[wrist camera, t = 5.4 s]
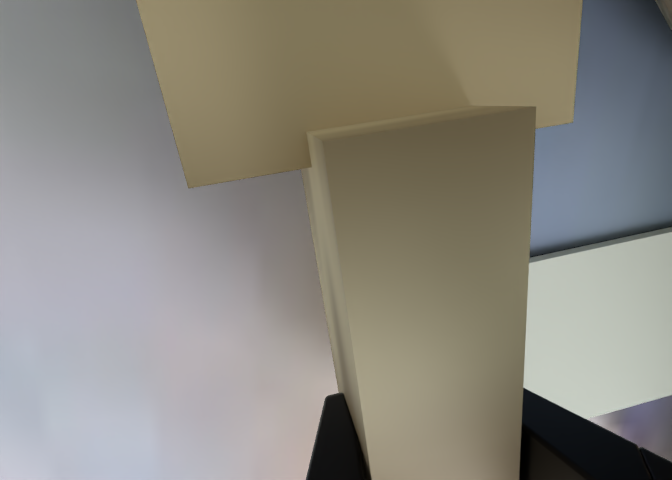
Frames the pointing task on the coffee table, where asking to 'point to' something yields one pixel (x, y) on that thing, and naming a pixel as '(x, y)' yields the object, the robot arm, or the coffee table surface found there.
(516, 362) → the spatula
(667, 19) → the ceramic bowl
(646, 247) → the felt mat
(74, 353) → the coffee table surface
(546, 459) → the robot arm
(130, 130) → the coffee table surface
